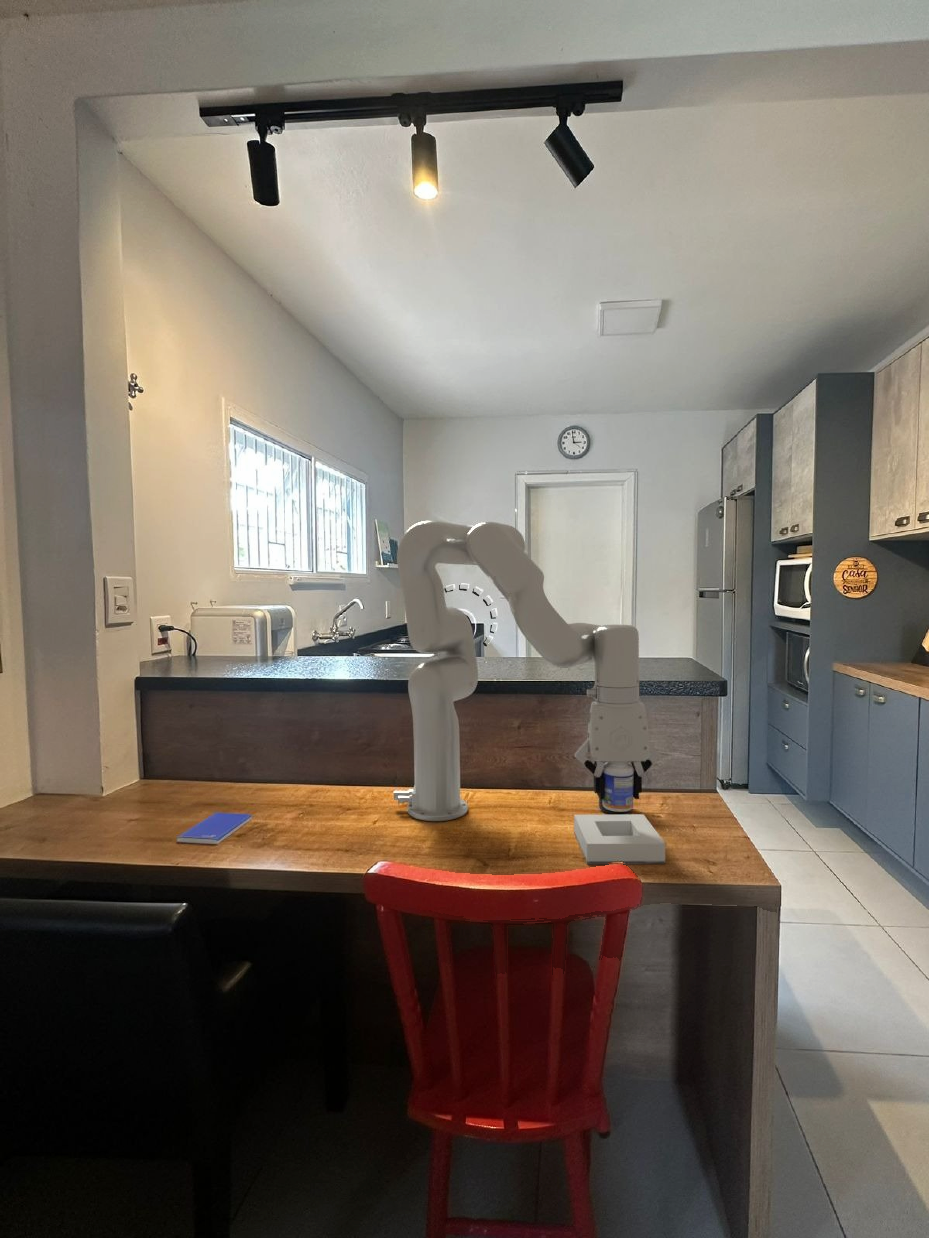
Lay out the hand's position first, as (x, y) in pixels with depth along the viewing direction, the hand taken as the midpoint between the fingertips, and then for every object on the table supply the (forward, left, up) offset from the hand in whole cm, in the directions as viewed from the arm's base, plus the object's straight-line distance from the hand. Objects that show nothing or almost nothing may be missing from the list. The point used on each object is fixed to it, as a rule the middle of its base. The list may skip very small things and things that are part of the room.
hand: (617, 795), depth 107 cm
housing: (0, 0, -9) cm, 9 cm away
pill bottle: (0, 0, -2) cm, 2 cm away
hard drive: (-76, +9, -10) cm, 77 cm away
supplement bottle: (+4, +19, -10) cm, 21 cm away
